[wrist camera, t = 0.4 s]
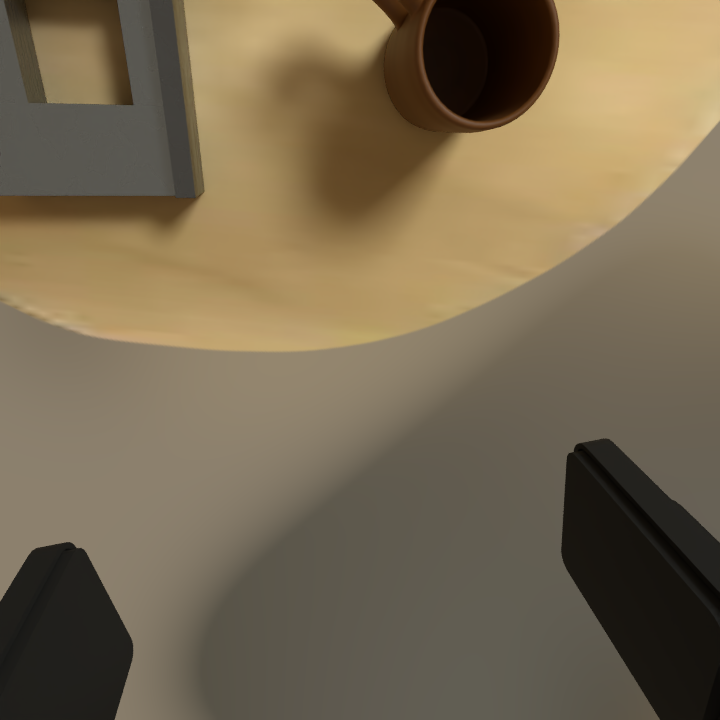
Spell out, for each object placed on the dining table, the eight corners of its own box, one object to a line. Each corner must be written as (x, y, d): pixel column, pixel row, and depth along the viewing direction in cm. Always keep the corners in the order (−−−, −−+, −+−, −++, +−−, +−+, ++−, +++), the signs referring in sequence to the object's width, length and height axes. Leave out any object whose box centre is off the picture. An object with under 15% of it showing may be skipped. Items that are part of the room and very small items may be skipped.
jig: (-69, -132, 26) (-119, -169, 23) (170, -115, 27) (154, -146, 24) (16, 190, 33) (-14, 197, 29) (204, 191, 34) (195, 197, 31)
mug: (301, 35, 31) (304, 0, 22) (372, -89, 29) (406, -179, 20) (445, 155, 35) (494, 164, 27) (516, 54, 33) (594, 28, 24)
